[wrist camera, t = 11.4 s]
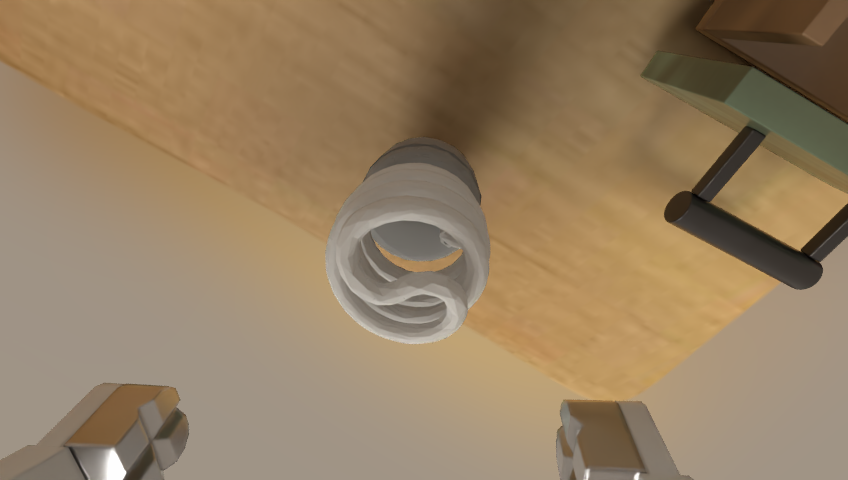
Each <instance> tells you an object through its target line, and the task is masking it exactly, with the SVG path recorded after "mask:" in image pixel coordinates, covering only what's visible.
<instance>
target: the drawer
mask: <svg viewBox="0 0 848 480" xmlns="http://www.w3.org/2000/svg"><path fill="white" fill-rule="evenodd" d="M696 30H697V31H699V32H700V33H702V34H704V35H705V36H707V37H709V38H710V39H712V40H714V41H715V42H717V43H718V44H720V45H722V46H723V47H725V48H727V49H728V50H730V51H732V52H733V53H735V54H737V55H738V56H740V57H742V58H743V59H745V60H747V61H748V62H750V63H752V64H753V65H755V66H757V67H758V68H760V69H762V70H763V71H765V72H767V73H768V74H770V75H771V76H773V77H775V78H776V79H778V80H780V81H781V82H783V83H785V84H786V85H788V86H790V87H791V88H793V89H795V90H796V91H798V92H800V93H801V94H803V95H805V96H806V97H808V98H810V99H811V100H813V101H815V102H816V103H818V104H819V105H821V106H823V107H824V108H826V109H828V110H829V111H831V112H833V113H834V114H836V115H838V116H839V117H841V118H843V119H844V120H846V121H848V0H715V1H714V2H713V4H712V5H711V7H710V8H709V9H708V11H707V12H706V14H705V15H704V17H703V18H702V19H701V21H700V22H699V24H698V25H697V27H696ZM641 77H643V78H644V79H646V80H648V81H650V82H651V83H653V84H655V85H656V86H658V87H660V88H662V89H663V90H665V91H667V92H669V93H670V94H672V95H674V96H676V97H677V98H679V99H681V100H683V101H684V102H686V103H688V104H690V105H691V106H693V107H695V108H696V109H698V110H700V111H702V112H703V113H705V114H707V115H709V116H710V117H712V118H714V119H716V120H717V121H719V122H721V123H723V124H724V125H726V126H728V127H730V128H731V129H733V130H735V131H737V132H738V133H739V134H738V135H737V136H736V138H735V139H734V140H733V141H732V142H731V144H730V145H729V146H728V147H727V148H726V150H725V151H724V152H723V153H722V154H721V156H720V157H719V158H718V159H717V160H716V162H715V163H714V164H713V165H712V167H711V168H710V169H709V170H708V171H707V173H706V174H705V175H704V176H703V177H702V179H701V180H700V181H699V182H698V183H697V185H696V186H695V187H694V188H693V189H692V192H690V191H682V192H680V193H678V194H676V195H675V196H674V197H673V198H672V199H671V200H670V201H669V203H668V204H667V206H666V208H665V212H664V218H665V220H666V221H667V222H669V223H670V224H672V225H674V226H676V227H678V228H680V229H682V230H684V231H686V232H688V233H689V234H691V235H693V236H695V237H697V238H699V239H701V240H703V241H705V242H707V243H708V244H710V245H712V246H714V247H716V248H718V249H720V250H722V251H724V252H726V253H727V254H729V255H731V256H733V257H735V258H737V259H739V260H741V261H743V262H745V263H746V264H748V265H750V266H752V267H754V268H756V269H758V270H760V271H762V272H764V273H765V274H767V275H769V276H771V277H773V278H775V279H777V280H779V281H781V282H783V283H784V284H786V285H788V286H790V287H792V288H794V289H800V290H802V289H807V288H810V287H812V286H813V285H815V284H816V283H817V282H818V281H819V279H820V278H821V276H822V273H823V268H822V265H821V264H820V263H819V262H821V261H822V260H823V259H824V258H825V257H826V256H827V255H828V254H829V253H830V252H832V251H833V249H835V248H836V247H837V246H838V245H839V244H840V243H841V242H842V241H843V240H844V239H845V238H846V237H847V236H848V204H846V205H845V206H844V207H843V208H842V209H841V210H840V211H839V212H838V213H837V214H836V215H835V216H834V217H833V218H832V219H831V220H830V221H829V222H828V223H827V224H826V225H825V226H824V227H823V228H822V229H821V230H820V231H819V232H818V233H817V234H816V235H815V236H814V237H813V238H812V239H811V240H810V241H809V242H808V243H807V244H806V245H805V246H804V247H803V248H802V249H801V252H800V251H799V250H797V249H795V248H793V247H791V246H789V245H787V244H786V243H784V242H782V241H780V240H778V239H776V238H775V237H773V236H771V235H769V234H767V233H765V232H764V231H762V230H760V229H758V228H756V227H754V226H752V225H751V224H749V223H747V222H745V221H743V220H741V219H740V218H738V217H736V216H734V215H732V214H730V213H728V212H727V211H725V210H723V209H721V208H719V207H717V206H716V205H714V204H712V203H710V201H711V200H712V199H713V198H714V197H715V196H716V194H717V193H718V192H719V191H720V190H721V189H722V188H723V186H724V185H725V184H726V183H727V182H728V181H729V179H730V178H731V177H732V176H733V175H734V174H735V172H736V171H737V170H738V169H739V168H740V167H741V166H742V164H743V163H744V162H745V161H746V160H747V159H748V157H749V156H750V155H751V154H752V153H753V152H754V150H755V149H756V148H757V147H758V146H759V145H761V146H763V147H764V148H766V149H768V150H770V151H771V152H773V153H775V154H777V155H778V156H780V157H782V158H784V159H785V160H787V161H789V162H790V163H792V164H794V165H796V166H797V167H799V168H801V169H803V170H804V171H806V172H808V173H810V174H811V175H813V176H815V177H817V178H818V179H820V180H822V181H824V182H825V183H827V184H829V185H830V186H832V187H834V188H836V189H839V190H841V191H843V192H845V193H847V194H848V124H847V123H846V122H844V121H842V120H841V119H839V118H837V117H836V116H834V115H832V114H831V113H829V112H827V111H826V110H824V109H822V108H821V107H819V106H817V105H816V104H814V103H812V102H811V101H809V100H808V99H806V98H804V97H803V96H801V95H799V94H798V93H796V92H794V91H793V90H791V89H789V88H788V87H786V86H784V85H783V84H781V83H779V82H778V81H776V80H774V79H773V78H771V77H769V76H768V75H766V74H764V73H763V72H761V71H759V70H758V69H756V68H754V67H751V66H745V65H739V64H733V63H727V62H721V61H715V60H709V59H704V58H698V57H692V56H686V55H680V54H674V53H668V52H662V51H657V52H656V53H655V55H654V56H653V58H652V59H651V61H650V62H649V64H648V65H647V67H646V68H645V70H644V71H643V72H642V74H641ZM693 193H694V194H693ZM802 252H803V253H802Z"/></svg>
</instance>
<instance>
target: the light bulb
mask: <svg viewBox="0 0 848 480" xmlns="http://www.w3.org/2000/svg"><path fill="white" fill-rule="evenodd" d="M480 203H481V193H480V190H479V187H478V184H477V180H476V177H475V174H474V171H473V169H472V168H471V166H470V165H469V163H468V161H467V160H466V158H465V157H464V155H463V154H462V153H461V152H459V151H458V150H457V149H456V148H455V147H454V146H452V145H450V144H448V143H445V142H443V141H441V140H438V139H433V138H428V137H418V138H410V139H407V140H404V141H401V142H399V143H396V144H395V145H394V146H393V147H391V148H390V149H389V150H388V151H386V152H385V153H384V154H383V155H382V156H381V157H380V158H379V159H378V160H377V161H376V162H375V163H374V164H373V165H372V166H371V167H370V169H369V171H368V173H367V175H366V177H365V179H364V181H363V182H362V183H361V184H360V185H359V186H358V187H357V188H356V190H355V191H354V192H353V193H352V194H351V195H350V196H349V197H348V198H347V199H346V200H345V202H344V204H343V206H342V207H341V209H340V211H339V213H338V214H337V217H336V220H335V223H334V225H333V226H332V229H331V231H330V234H329V237H328V242H327V247H326V272H327V276H328V280H329V282H330V285H331V288H332V291H333V293H334V295H335V297H336V298H337V300H338V301H339V303H340V304H341V306H342V307H343V309H344V310H345V311H346V312H347V313H348V314H349V315H350V316H351V317H352V318H353V319H354V320H355V321H356V322H357V323H358V324H360V325H361V326H362V327H364V328H365V329H367V330H369V331H371V332H373V333H374V334H376V335H378V336H380V337H383V338H386V339H389V340H393V341H397V342H401V343H407V344H421V343H431V342H435V341H439V340H442V339H445V338H447V337H448V336H450V335H451V334H453V333H454V332H455V331H457V330H458V329H459V328H460V326H461V325H462V323H463V322H464V320H465V318H466V316H467V312H468V309H469V308H470V307H471V306H472V305H473V304H474V303H475V302H476V301H477V300H478V299H479V297H480V295H481V293H482V292H483V290H484V288H485V286H486V283H487V279H488V274H489V258H490V240H489V235H488V231H487V224H486V220H485V216H484V214H483V212H482V210H481V207H480ZM373 239H374V240H375V241H376V242H377V243H378V244H379V245H380V246H381V247H382V248H384V249H385V250H386V251H388V252H389V253H391V254H392V255H395V256H397V257H400V258H402V259H405V260H413V261H433V260H436V259H440V258H443V257H446V256H448V255H450V254H451V253H453V252H455V251H456V250H458V249H462V250H463V253H462V255H461V256H460V257H459V258H458V259H457V260H456V261H455V262H454V263H453V264H452V265H450V266H448V267H446V268H444V269H442V270H439V271H436V272H433V271H426V272H412V271H407V270H405V269H403V268H401V267H399V266H396V265H395V264H393V263H392V262H390V261H389V260H388V259H387V258H386V257H384V256H383V255H382V253H381V252H380V251H379V249H378V248H377V247H376V244H375V242H374V240H373Z"/></svg>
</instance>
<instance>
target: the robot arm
mask: <svg viewBox="0 0 848 480" xmlns="http://www.w3.org/2000/svg"><path fill="white" fill-rule="evenodd" d="M179 401H180V398H179V395H178V393H177V391H176V388H173V387H169V386H155V385H154V386H153V385H138V384H115V383H103V384H100V385H98V386H96V387H94V388H93V389H92V390H91V391H90V392H89V393H88V394H87V395H86V396H85V397H84V398H83V399H82V400H81V401H80V402H79V403H78V404H77V405H76V406H75V407H74V408H73V409H72V410H71V411H70V412H69V413H68V414H67V415H66V416H65V417H64V418H63V419H62V420H61V421H60V422H59V423H58V424H57V425H56V426H55V427H54V428H53V429H52V430H51V431H50V432H49V433H48V434H47V435H46V436H45V437H44V438H43V439H42V440H41V441H40V442H39V443H38V444H37V445H28V446H26V447H24V448H22V449H20V450H18V451H16V452H15V453H13V454H11V455H9V456H7V457H5V458H3V459H1V460H0V480H164V470H165V469H167V468H168V467H170V466H171V465H172V464H174V463H175V462H177V460H178V459H179V457H180V455H181V454H182V452H183V451H184V449H185V446H186V442H187V439H188V435H189V424H188V420H187V418H186V415H185V414H184V413H183V412H181V411H180V410H179V409H178V408H177V407H176V406H177V405H178V403H179ZM560 416H561V420H562V424H563V426H561V427H560V428H559V429H558V431H557V439H556V457H557V464H558V470H559V475H560V479H561V480H693V479H692V478H691V477H690V476H684V475H680V474H679V472H678V470H677V468H676V466H675V464H674V462H673V459H672V457H671V456H670V453H669V451H668V449H667V447H666V445H665V443H664V441H663V439H662V437H661V435H660V433H659V431H658V429H657V427H656V425H655V423H654V421H653V419H652V417H651V415H650V413H649V411H648V409H647V407H646V405H645V404H643V403H642V402H640V401H600V400H563V402H562V404H561V410H560Z"/></svg>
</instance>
